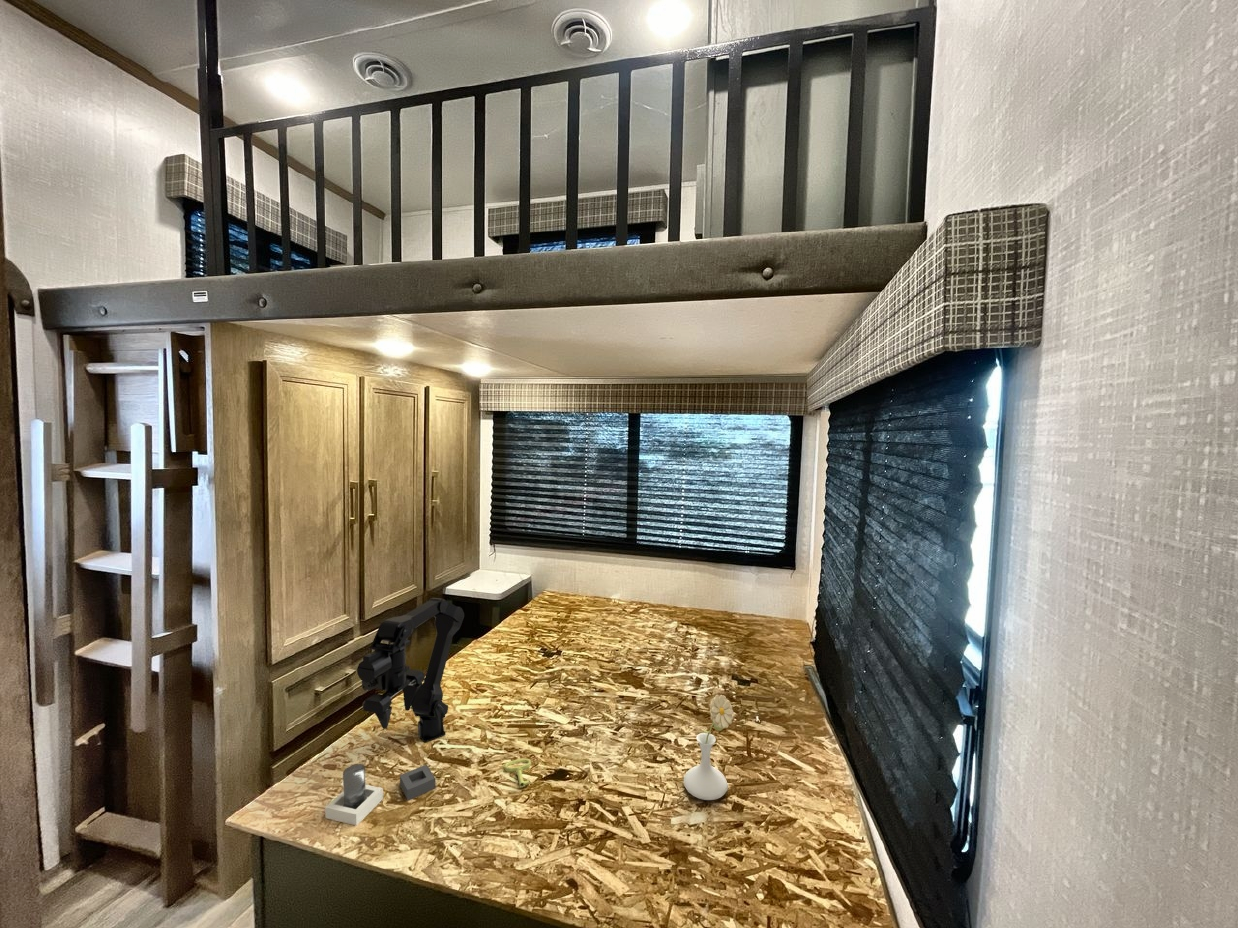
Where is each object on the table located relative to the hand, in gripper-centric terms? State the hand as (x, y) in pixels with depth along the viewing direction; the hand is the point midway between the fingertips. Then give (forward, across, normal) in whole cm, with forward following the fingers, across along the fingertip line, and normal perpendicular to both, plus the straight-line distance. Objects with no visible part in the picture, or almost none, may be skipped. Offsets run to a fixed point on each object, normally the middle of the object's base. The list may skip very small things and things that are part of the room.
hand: (396, 719), depth 141 cm
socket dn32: (+13, +7, +11) cm, 18 cm away
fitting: (+12, +17, +1) cm, 21 cm away
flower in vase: (+13, -12, +86) cm, 87 cm away
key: (+14, -5, +35) cm, 38 cm away
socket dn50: (+13, +17, +1) cm, 21 cm away
